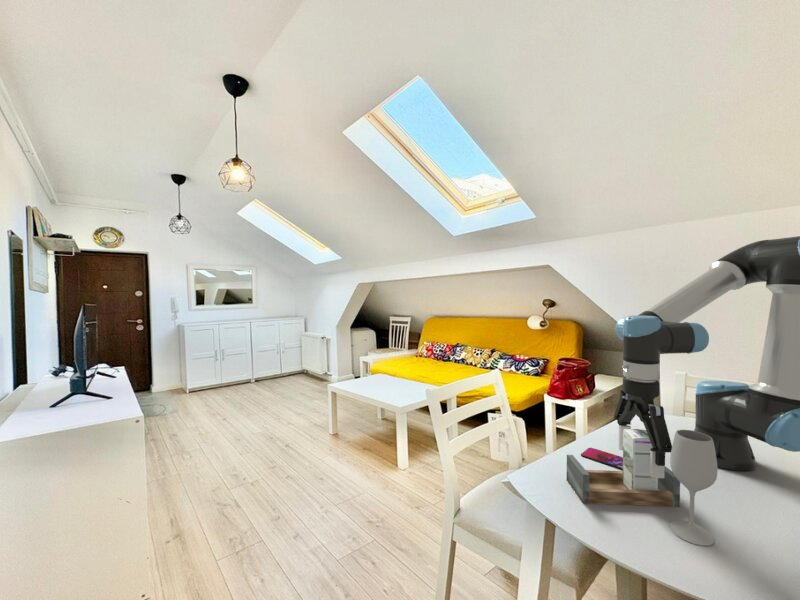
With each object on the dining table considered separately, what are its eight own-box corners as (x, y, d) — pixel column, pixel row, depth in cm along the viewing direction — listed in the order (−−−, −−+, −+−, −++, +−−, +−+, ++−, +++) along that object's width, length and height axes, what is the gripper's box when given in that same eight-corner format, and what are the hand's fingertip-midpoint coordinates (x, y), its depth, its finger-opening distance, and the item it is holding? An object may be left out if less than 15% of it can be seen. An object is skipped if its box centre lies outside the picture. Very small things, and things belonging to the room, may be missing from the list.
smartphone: (589, 446, 114) (644, 463, 103) (589, 449, 114) (644, 466, 103) (579, 454, 109) (636, 473, 98) (579, 457, 109) (636, 476, 98)
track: (652, 483, 94) (653, 457, 94) (679, 506, 84) (680, 477, 84) (566, 480, 96) (566, 454, 95) (582, 503, 86) (583, 474, 85)
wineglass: (659, 522, 78) (661, 428, 77) (691, 520, 79) (694, 427, 78) (690, 548, 71) (693, 444, 70) (725, 545, 71) (729, 442, 71)
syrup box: (658, 498, 85) (660, 439, 85) (632, 496, 86) (633, 437, 86) (646, 485, 91) (647, 429, 90) (621, 483, 92) (622, 428, 91)
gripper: (600, 366, 101) (599, 440, 102) (657, 393, 76) (655, 491, 77) (628, 366, 100) (627, 440, 101) (694, 394, 75) (692, 491, 76)
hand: (639, 462), depth 89 cm, fingers open, 13 cm apart
